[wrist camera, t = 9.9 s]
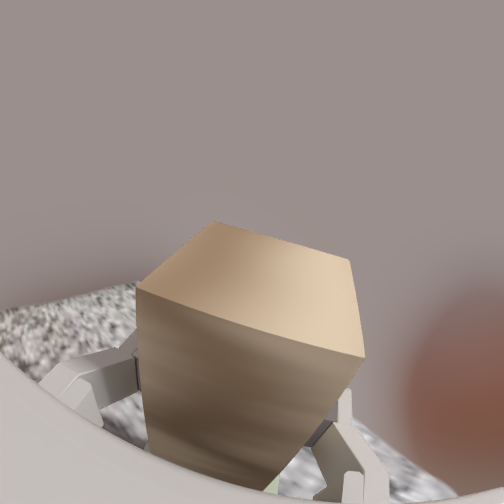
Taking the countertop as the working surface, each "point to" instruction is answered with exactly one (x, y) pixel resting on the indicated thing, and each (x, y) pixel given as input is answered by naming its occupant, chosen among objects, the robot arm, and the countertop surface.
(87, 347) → the countertop surface
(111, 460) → the robot arm
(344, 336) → the pillar
